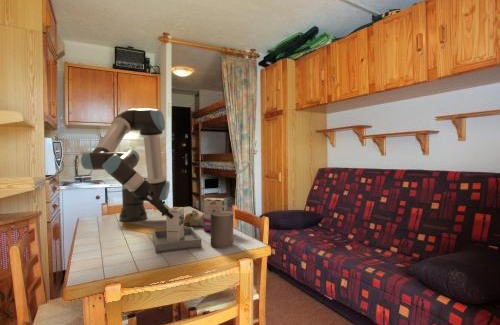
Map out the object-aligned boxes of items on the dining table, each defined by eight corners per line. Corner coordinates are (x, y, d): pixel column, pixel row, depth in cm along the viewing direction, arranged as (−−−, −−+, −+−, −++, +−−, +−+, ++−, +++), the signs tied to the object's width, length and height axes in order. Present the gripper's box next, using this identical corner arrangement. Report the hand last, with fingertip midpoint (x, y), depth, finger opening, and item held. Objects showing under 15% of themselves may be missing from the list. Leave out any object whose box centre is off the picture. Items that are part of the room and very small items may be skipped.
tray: (152, 238, 128) (152, 231, 128) (192, 234, 135) (192, 227, 135) (156, 253, 110) (155, 244, 109) (201, 247, 117) (201, 239, 116)
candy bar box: (227, 230, 141) (227, 198, 140) (223, 233, 136) (223, 200, 136) (207, 228, 145) (207, 197, 144) (203, 231, 140) (203, 198, 139)
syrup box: (179, 243, 119) (178, 209, 118) (166, 242, 120) (165, 209, 119) (184, 239, 124) (184, 207, 124) (172, 238, 126) (172, 206, 125)
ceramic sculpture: (204, 211, 144) (175, 213, 145) (205, 228, 145) (176, 229, 145) (208, 207, 155) (181, 209, 156) (209, 223, 155) (182, 224, 156)
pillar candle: (206, 244, 121) (206, 209, 120) (225, 239, 127) (224, 206, 126) (219, 250, 113) (218, 213, 113) (238, 245, 119) (238, 210, 119)
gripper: (131, 188, 126) (166, 218, 132) (131, 197, 103) (173, 233, 109) (143, 176, 127) (177, 206, 134) (146, 182, 104) (187, 218, 111)
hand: (175, 218), depth 122 cm, fingers open, 13 cm apart
